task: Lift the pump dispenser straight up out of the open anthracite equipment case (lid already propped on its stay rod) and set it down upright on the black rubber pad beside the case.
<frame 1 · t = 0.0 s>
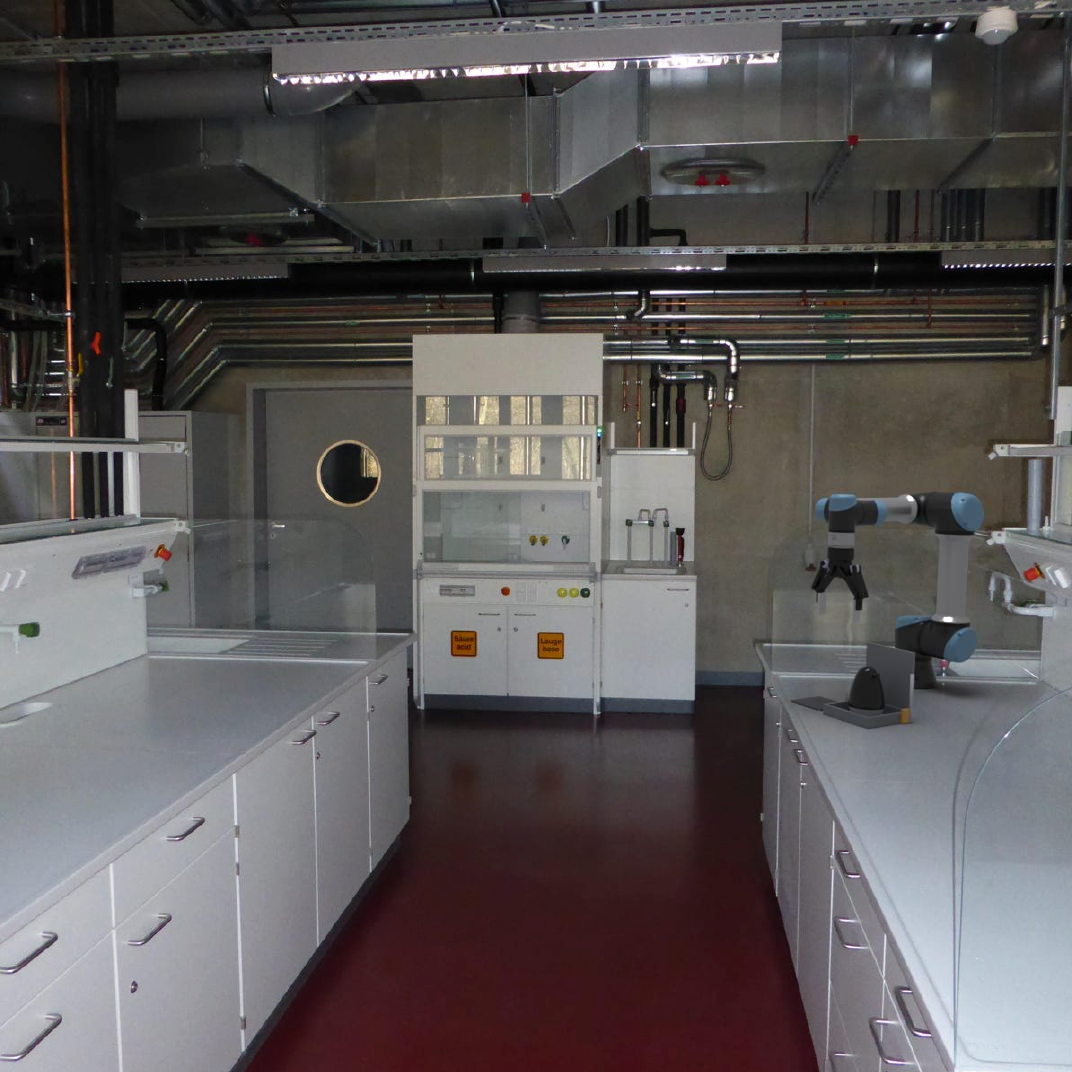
hand: (838, 617, 284), 28 cm above the countertop, fingers open, 13 cm apart
pad: (819, 703, 293), on the countertop
case: (865, 717, 278), on the countertop
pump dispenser: (865, 718, 278), resting in case
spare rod: (862, 704, 294), on the countertop
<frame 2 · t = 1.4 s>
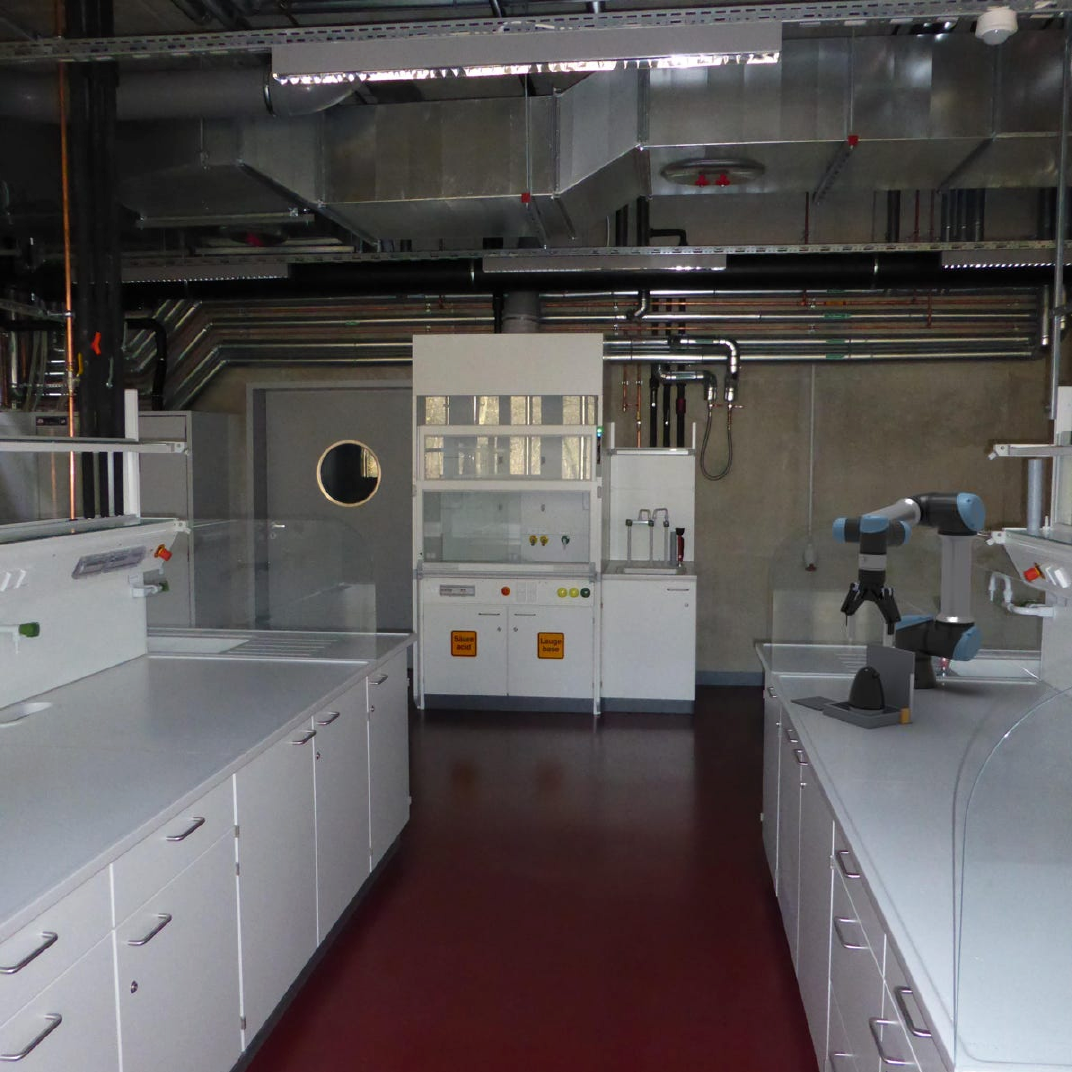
hand: (868, 641, 276), 22 cm above the countertop, fingers open, 13 cm apart
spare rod: (868, 696, 295), point 2 cm above the countertop, tilted 153°
everything else where it was.
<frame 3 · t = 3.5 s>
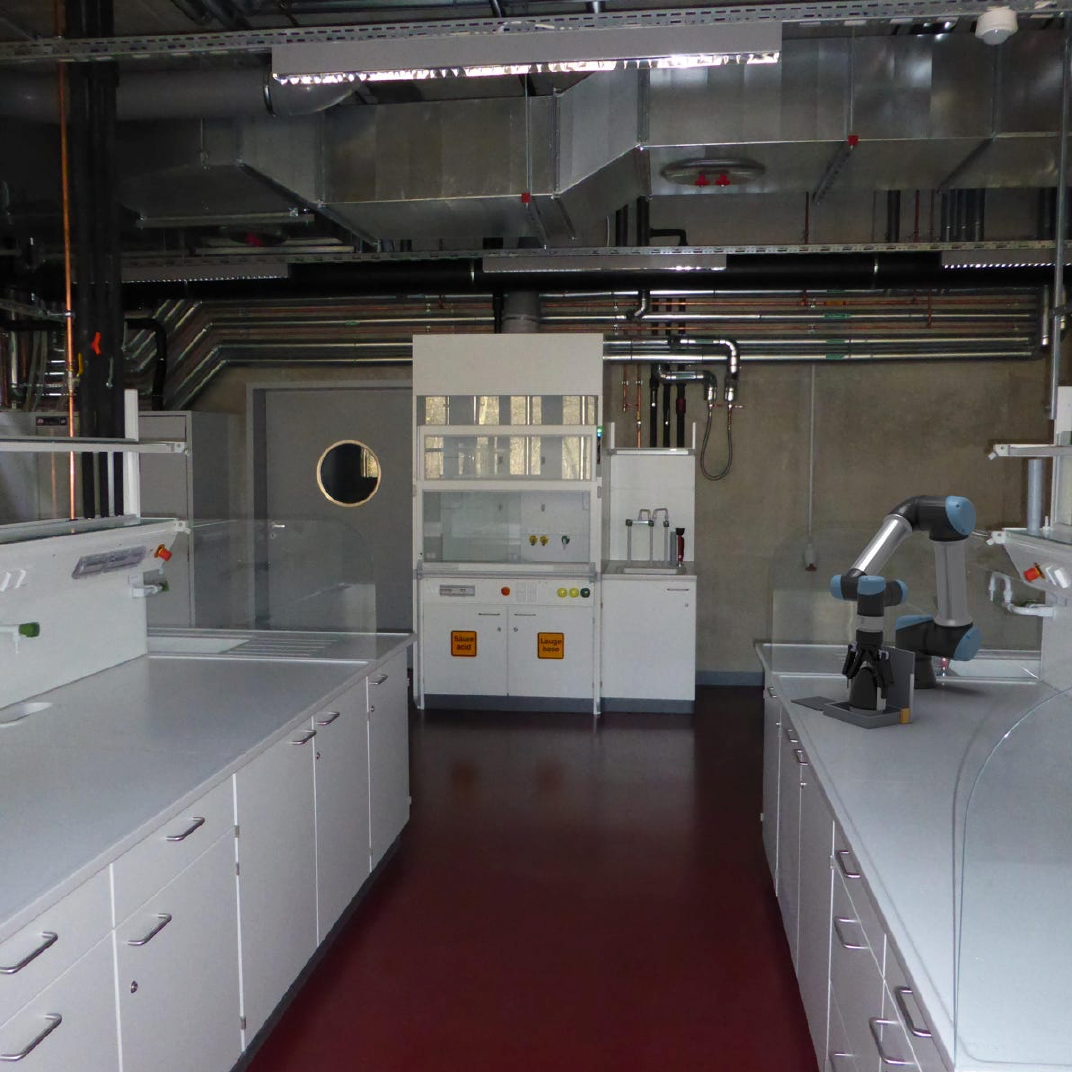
hand: (866, 704, 278), 4 cm above the countertop, fingers closed on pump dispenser, 10 cm apart
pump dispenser: (866, 718, 278), resting in case, touching gripper
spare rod: (893, 699, 300), on the countertop, tilted 19°
when the fingers open (6 cm above the countertop, at t = 10.1 s): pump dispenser drops 1 cm, resting on pad.
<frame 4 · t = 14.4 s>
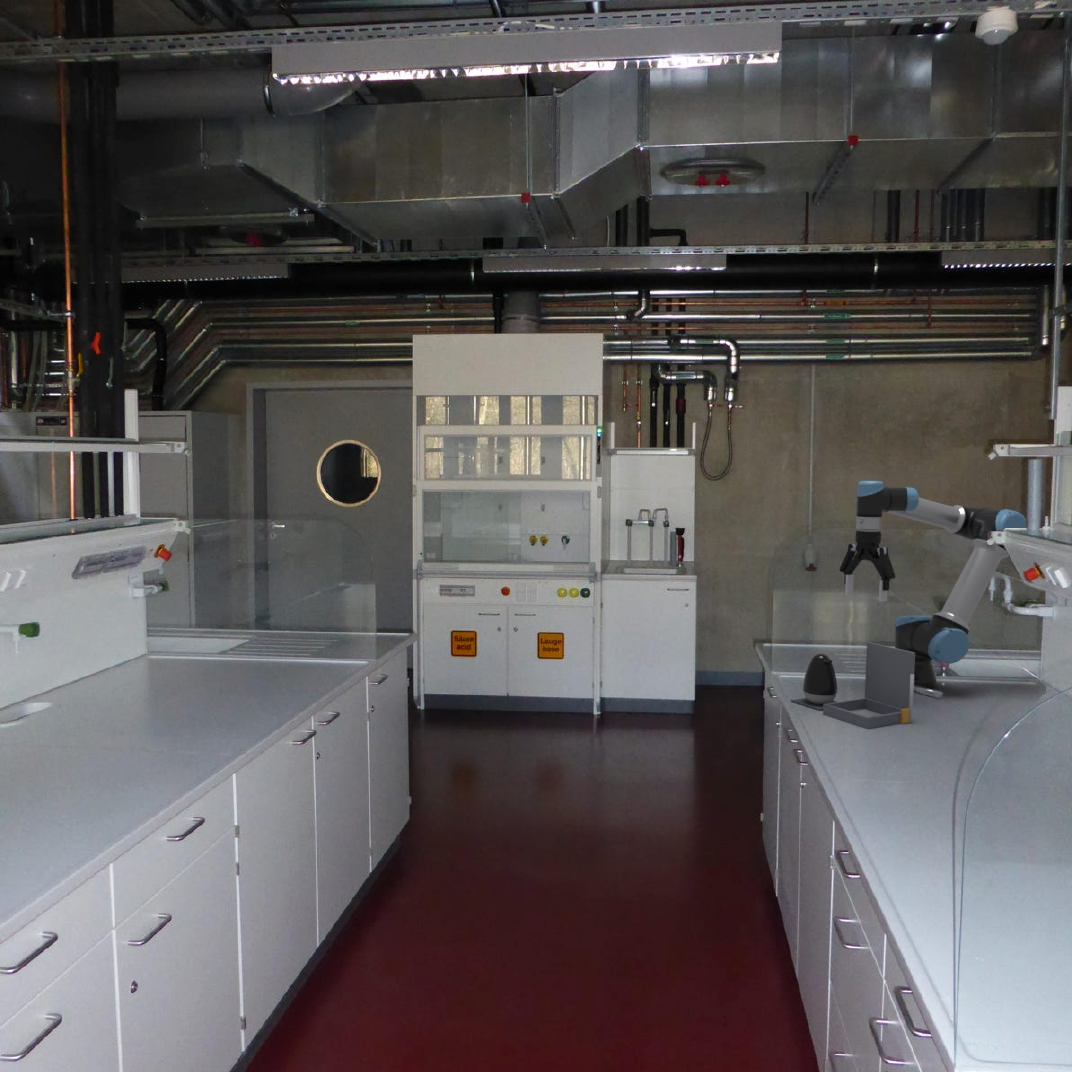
hand: (865, 598, 299), 32 cm above the countertop, fingers open, 13 cm apart
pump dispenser: (819, 703, 293), resting on pad
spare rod: (922, 692, 306), point 1 cm above the countertop, tilted 74°
at the end: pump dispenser inside the target area on the pad (0.1 cm from its centre), point 0.2 cm above the pad's base; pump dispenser tilted 0°; the gripper is holding nothing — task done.
